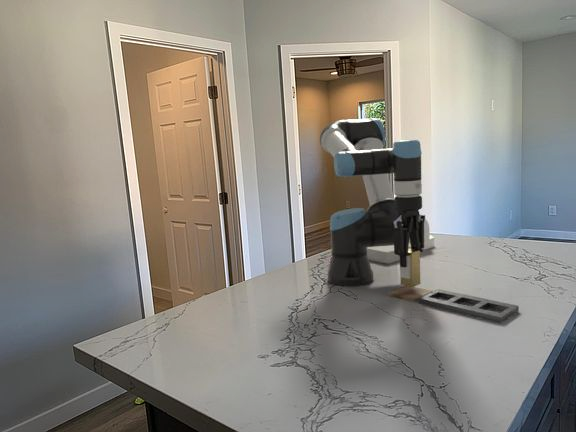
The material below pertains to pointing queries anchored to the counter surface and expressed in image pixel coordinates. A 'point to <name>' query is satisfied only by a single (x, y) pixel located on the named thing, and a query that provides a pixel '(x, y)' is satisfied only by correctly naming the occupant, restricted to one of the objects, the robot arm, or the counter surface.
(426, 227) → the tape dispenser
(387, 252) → the disc drive
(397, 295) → the walnut pad
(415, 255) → the square wooden peg
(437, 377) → the counter surface
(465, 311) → the grey flat slotted block
